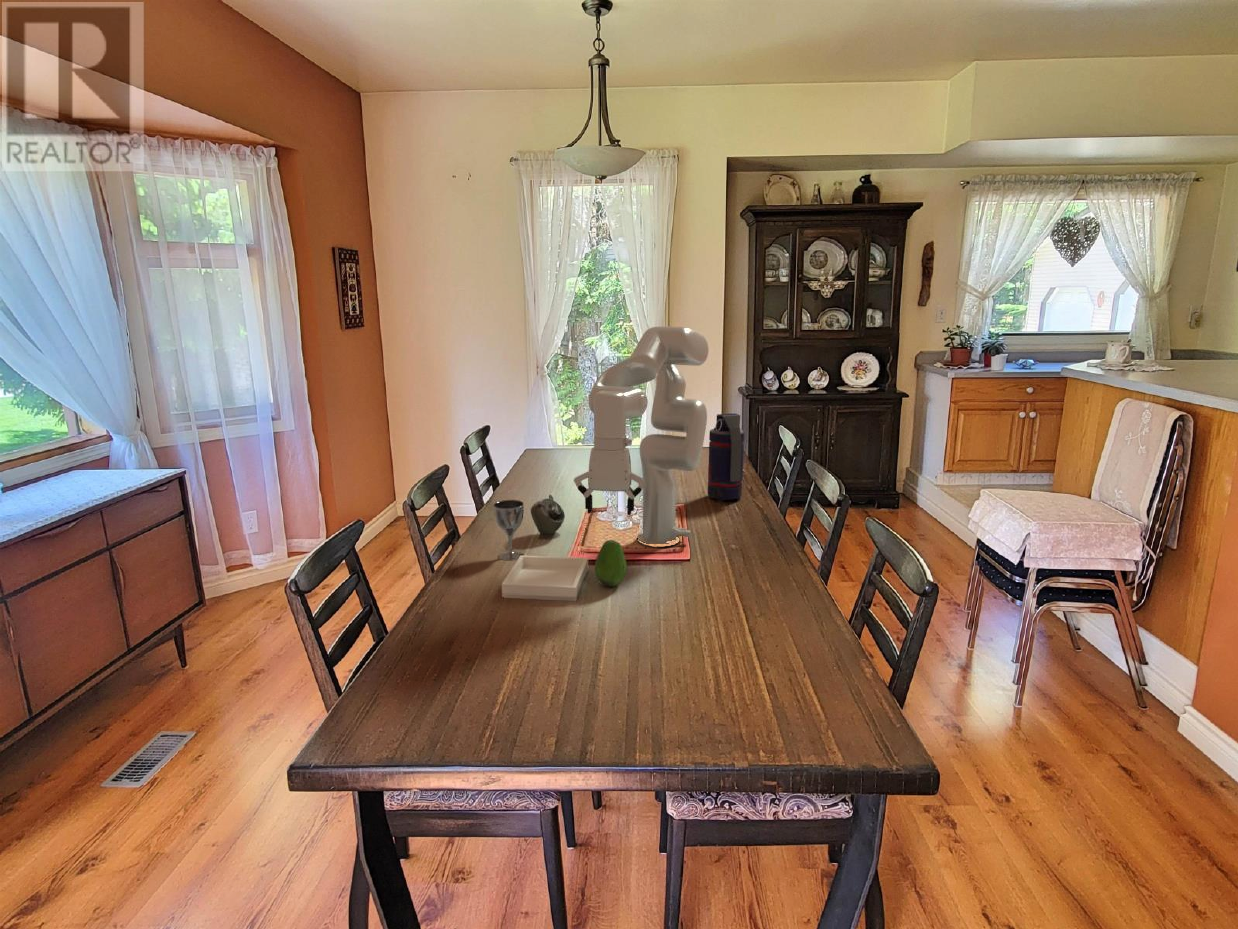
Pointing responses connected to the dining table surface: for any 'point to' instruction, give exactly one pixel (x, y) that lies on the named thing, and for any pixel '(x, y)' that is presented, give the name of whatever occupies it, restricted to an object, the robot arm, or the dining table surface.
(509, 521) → the wine glass
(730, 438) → the grenade
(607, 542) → the avocado
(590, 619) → the dining table surface
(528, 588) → the tray
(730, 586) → the dining table surface
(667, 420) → the robot arm
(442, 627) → the dining table surface
